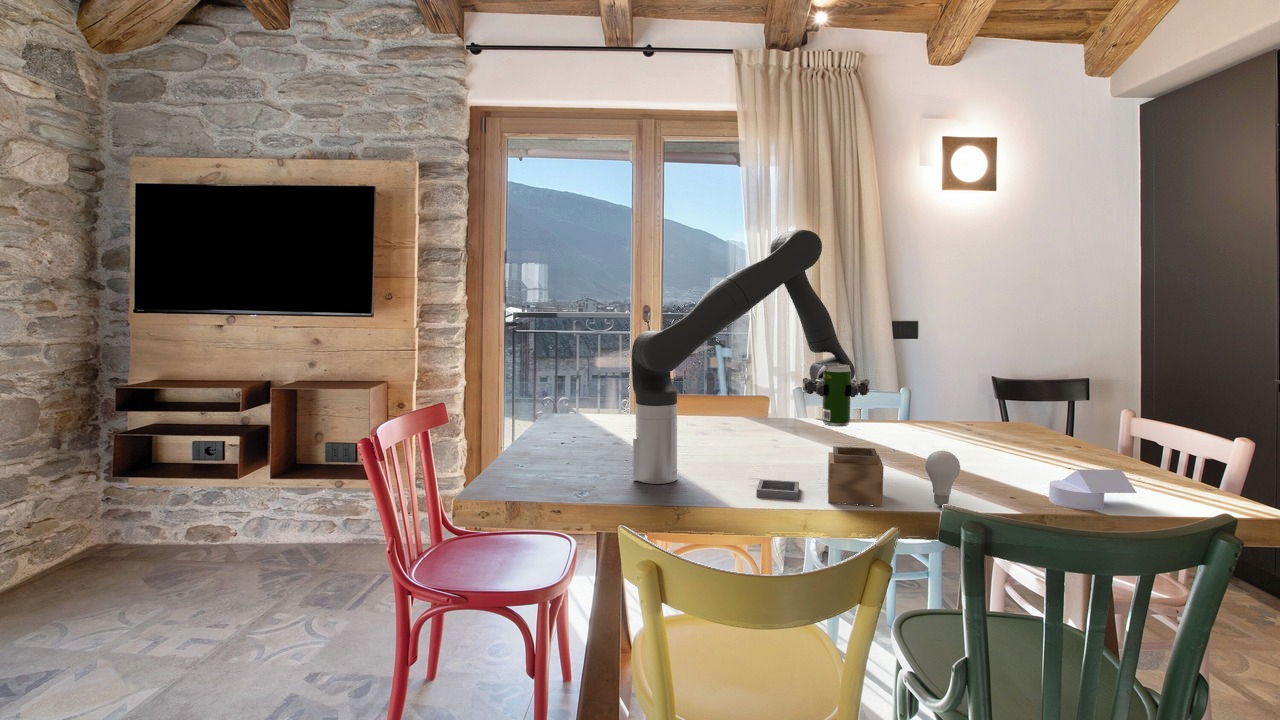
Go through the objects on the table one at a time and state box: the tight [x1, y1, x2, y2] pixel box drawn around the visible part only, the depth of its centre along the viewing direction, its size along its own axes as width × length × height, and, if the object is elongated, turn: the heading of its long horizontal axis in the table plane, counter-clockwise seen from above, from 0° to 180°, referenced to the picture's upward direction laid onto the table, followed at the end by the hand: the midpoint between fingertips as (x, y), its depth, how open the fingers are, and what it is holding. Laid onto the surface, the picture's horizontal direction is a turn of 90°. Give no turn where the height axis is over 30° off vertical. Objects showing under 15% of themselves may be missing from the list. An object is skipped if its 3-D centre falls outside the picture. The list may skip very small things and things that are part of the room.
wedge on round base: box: [1048, 469, 1138, 511], centre depth 130 cm, size 9×7×13 cm
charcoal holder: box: [756, 478, 800, 501], centre depth 138 cm, size 8×8×2 cm
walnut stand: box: [827, 445, 884, 507], centre depth 134 cm, size 10×10×10 cm
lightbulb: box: [924, 450, 961, 508], centre depth 128 cm, size 6×6×11 cm
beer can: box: [821, 364, 851, 428], centre depth 134 cm, size 5×5×12 cm
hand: (837, 391), depth 131 cm, fingers closed on beer can, 5 cm apart
